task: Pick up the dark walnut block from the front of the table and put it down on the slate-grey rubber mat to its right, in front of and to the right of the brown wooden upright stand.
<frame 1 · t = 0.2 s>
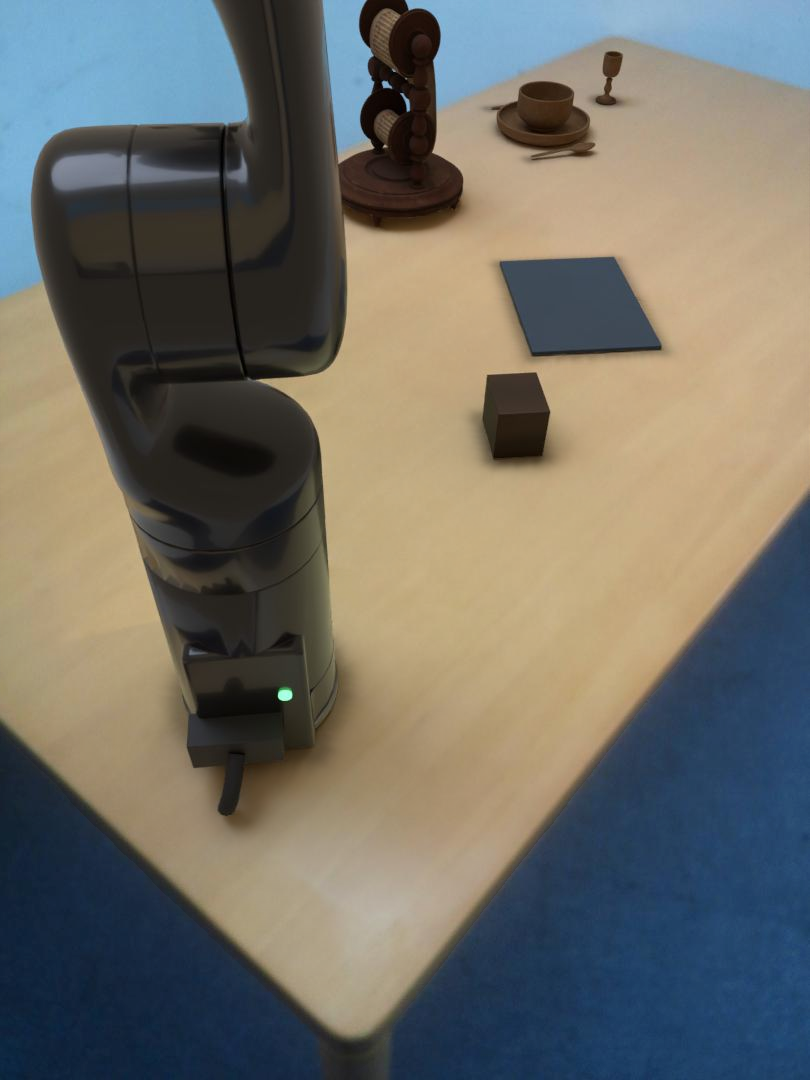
walnut block: (511, 437, 70), on the table
grey mat: (575, 304, 84), on the table
place setting: (569, 128, 114), on the table
brown wooden upright stand: (396, 201, 99), on the table
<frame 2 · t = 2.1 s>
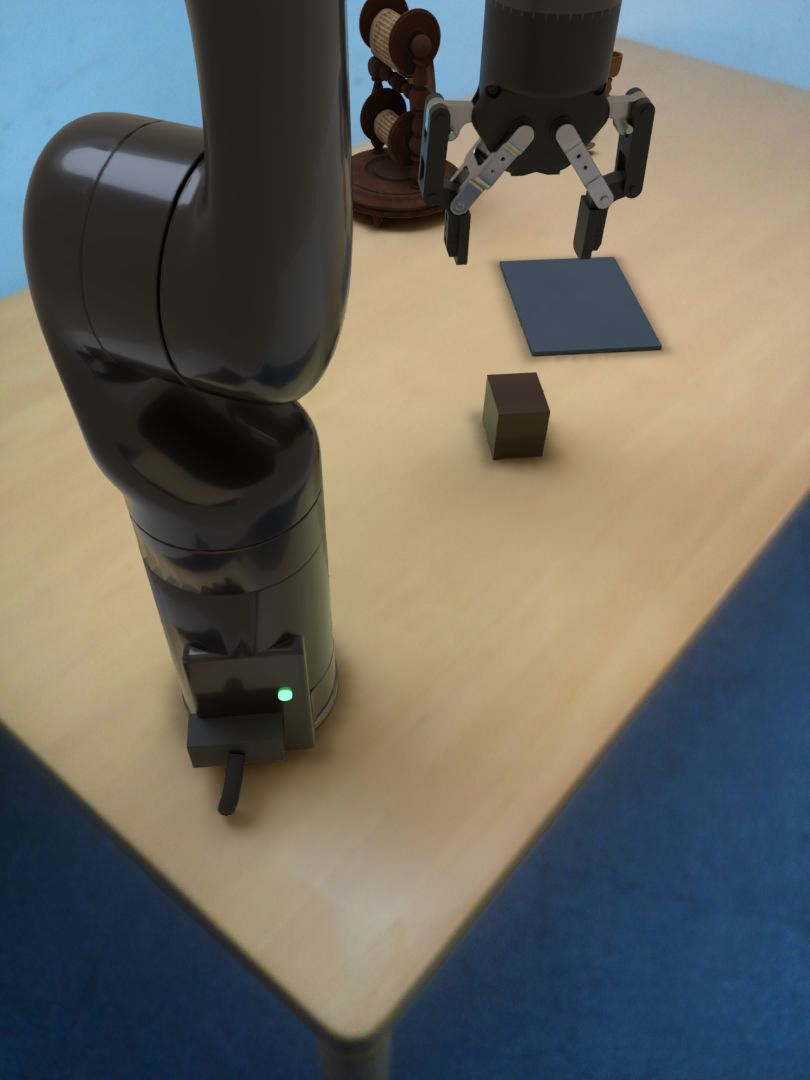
hand: (521, 256, 60), 15 cm above the table, tool pointing down, fingers open, 8 cm apart
nothing on the table moved.
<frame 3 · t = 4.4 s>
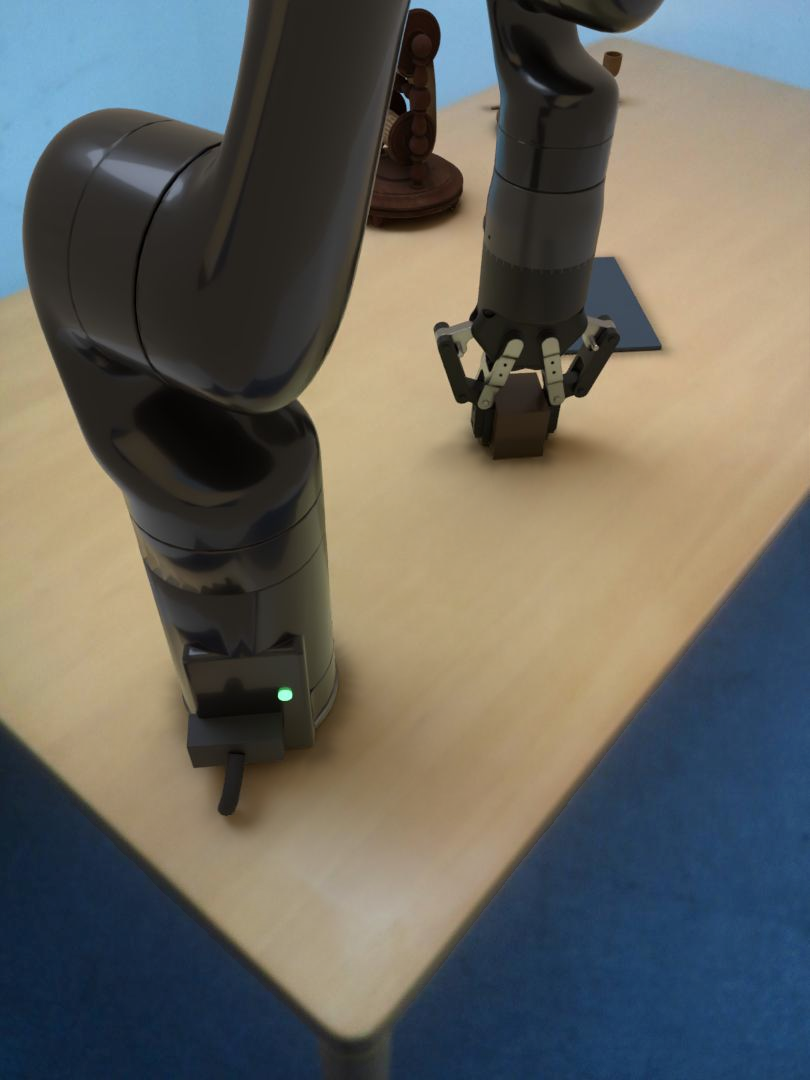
hand: (512, 434, 70), 0 cm above the table, tool pointing down, fingers closed on walnut block, 4 cm apart
walnut block: (511, 437, 70), on the table, touching gripper
everything else where it was.
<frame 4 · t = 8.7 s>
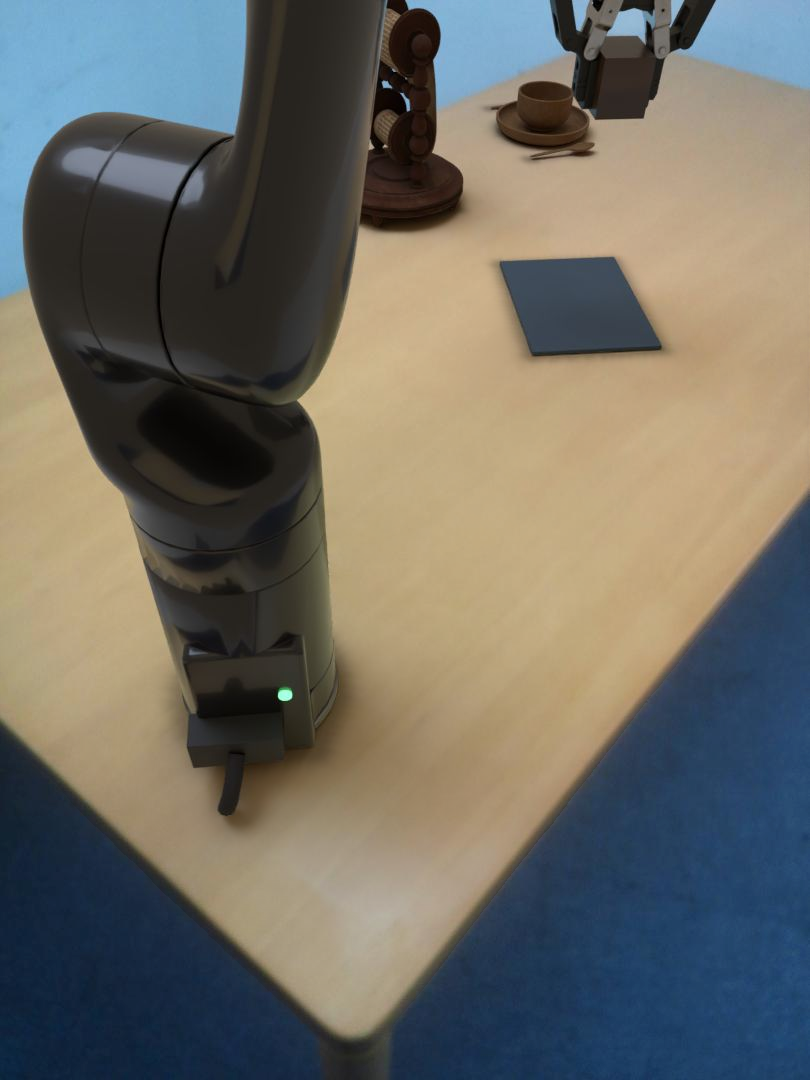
hand: (612, 104, 71), 18 cm above the table, tool pointing down, fingers closed on walnut block, 4 cm apart
walnut block: (610, 107, 71), point 18 cm above the table, touching gripper
everything else where it was.
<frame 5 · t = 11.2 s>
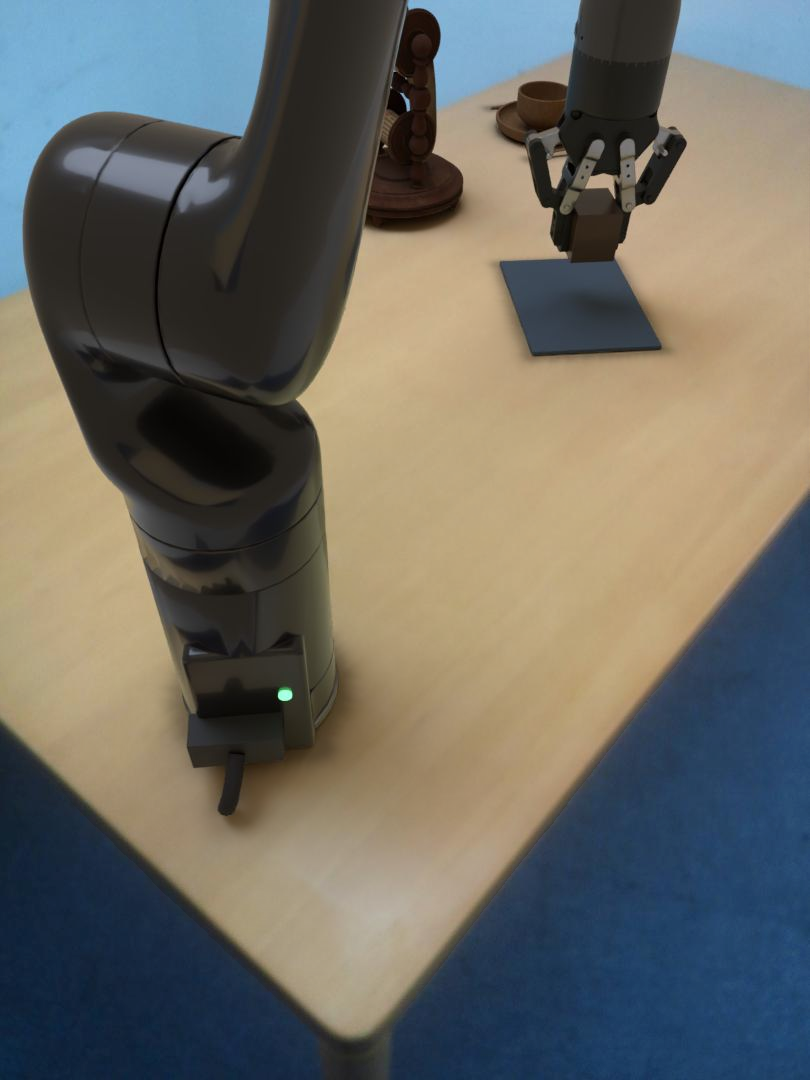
hand: (586, 246, 80), 6 cm above the table, tool pointing down, fingers closed on walnut block, 4 cm apart
walnut block: (585, 248, 80), point 6 cm above the table, touching gripper
everything else where it was.
when the fingers open (1 cm above the table, at t = 12.9 s): walnut block stays where it is, resting on grey mat.
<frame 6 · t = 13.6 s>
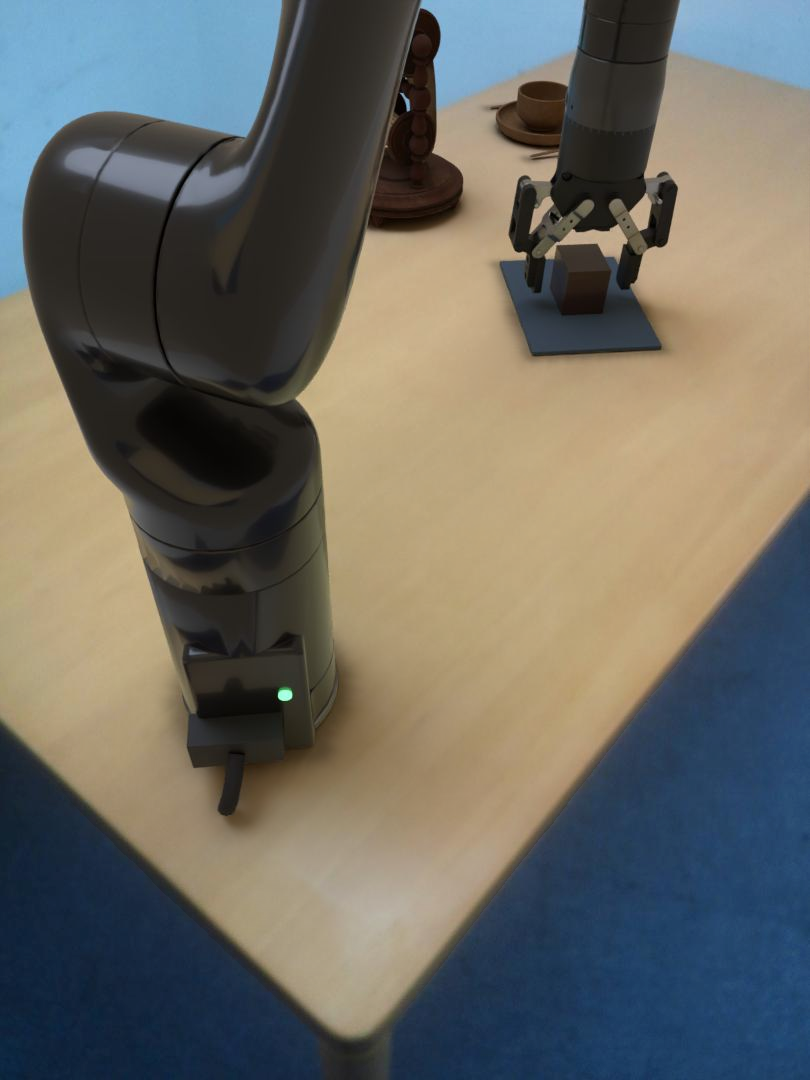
hand: (578, 287, 83), 2 cm above the table, tool pointing down, fingers open, 8 cm apart
walnut block: (575, 300, 84), resting on grey mat
everything else where it was.
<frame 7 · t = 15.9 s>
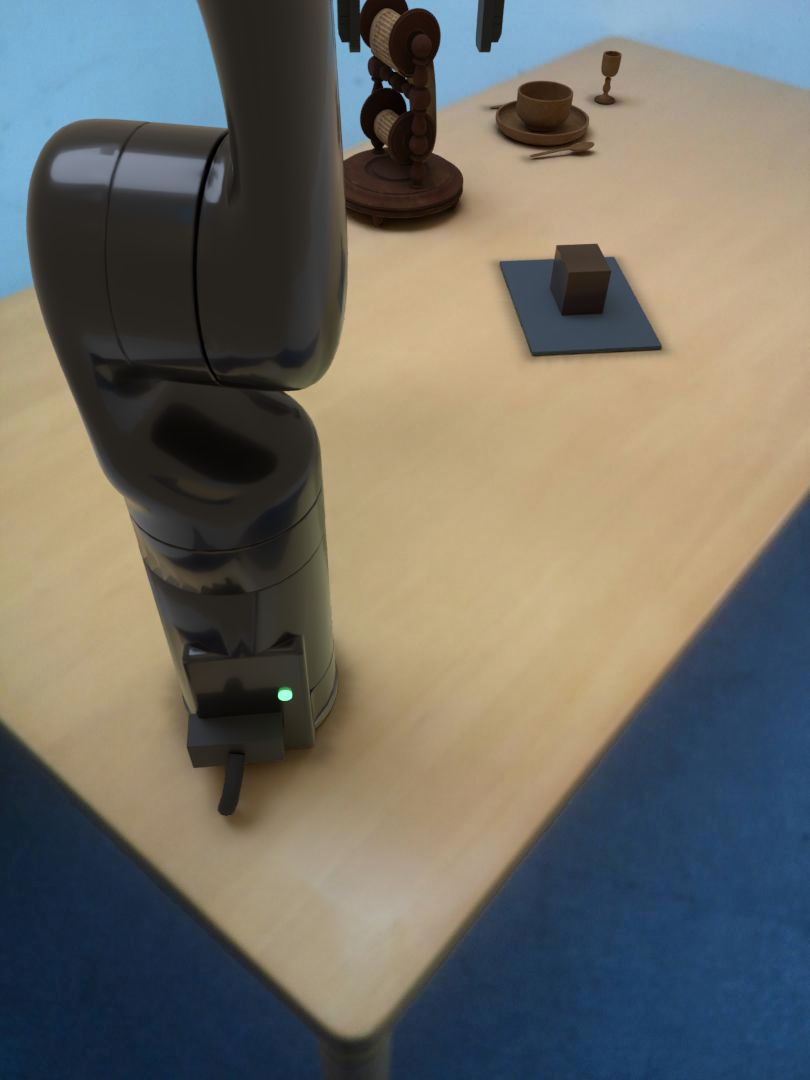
hand: (419, 49, 58), 26 cm above the table, tool pointing down, fingers open, 8 cm apart
nothing on the table moved.
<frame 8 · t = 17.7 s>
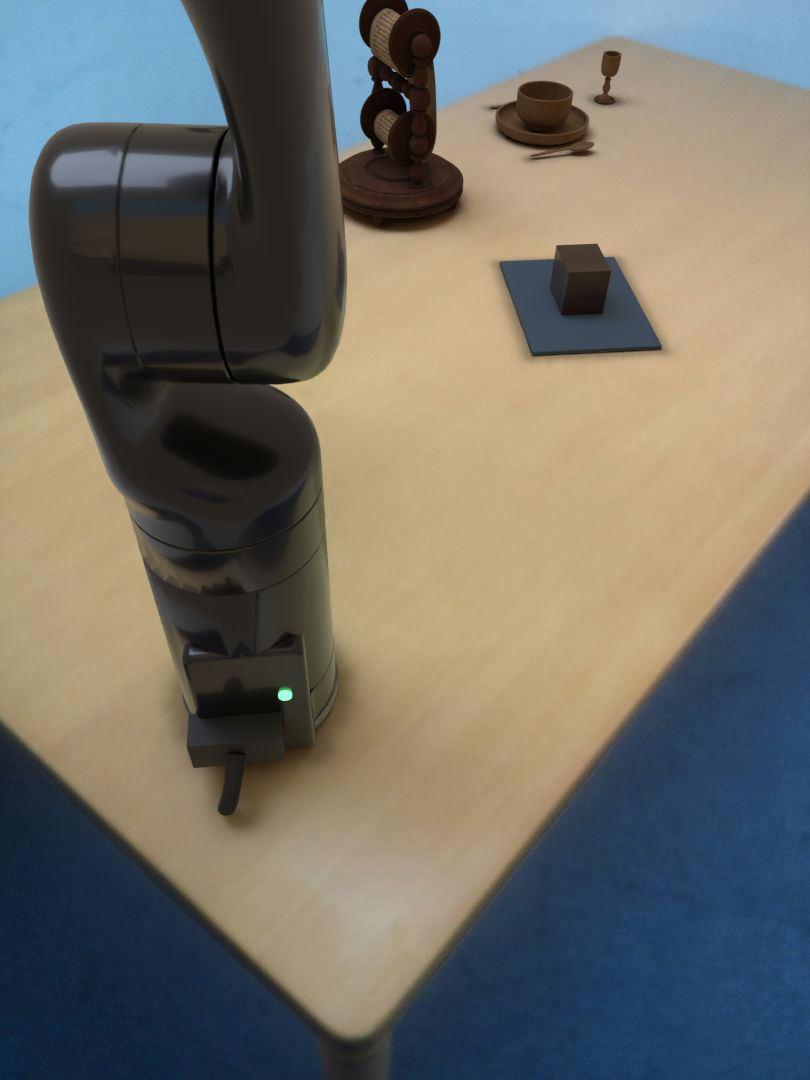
nothing on the table moved.
at the end: walnut block inside the target area on the grey mat (0.1 cm from its centre), point 0.4 cm above the grey mat's base; walnut block inside the target area on the table beside the brown wooden upright stand (11.1 cm from its centre), point 0.6 cm above the table; walnut block tilted 0° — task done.
